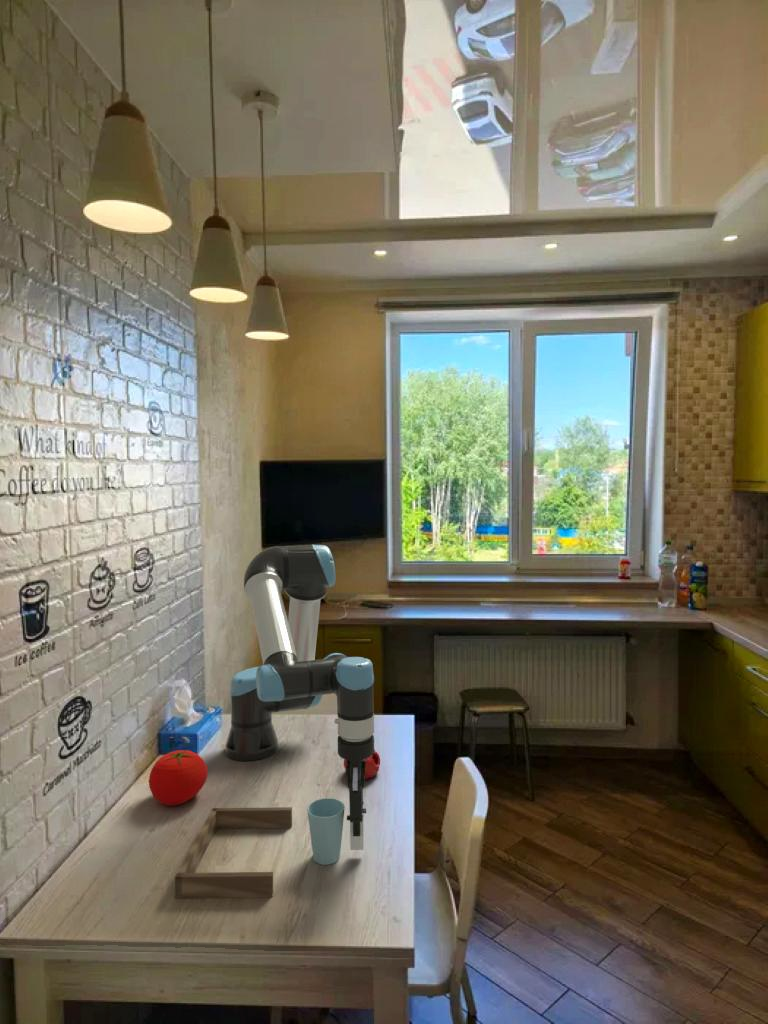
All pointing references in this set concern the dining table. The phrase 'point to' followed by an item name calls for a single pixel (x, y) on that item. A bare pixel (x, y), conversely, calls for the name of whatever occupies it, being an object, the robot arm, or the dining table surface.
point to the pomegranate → (370, 765)
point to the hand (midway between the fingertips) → (357, 847)
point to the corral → (229, 882)
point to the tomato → (177, 777)
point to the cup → (326, 829)
